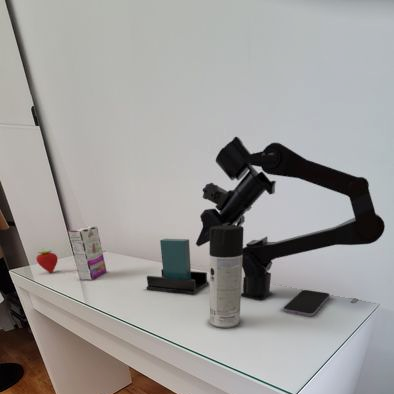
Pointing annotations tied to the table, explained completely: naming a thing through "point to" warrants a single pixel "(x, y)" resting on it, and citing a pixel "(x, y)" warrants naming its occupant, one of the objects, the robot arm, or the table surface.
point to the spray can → (225, 275)
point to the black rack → (178, 283)
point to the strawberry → (47, 260)
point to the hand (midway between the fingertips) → (204, 242)
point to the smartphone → (306, 303)
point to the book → (176, 258)
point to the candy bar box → (88, 252)
